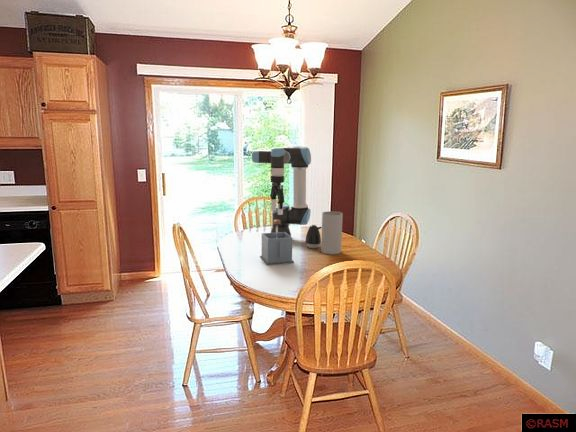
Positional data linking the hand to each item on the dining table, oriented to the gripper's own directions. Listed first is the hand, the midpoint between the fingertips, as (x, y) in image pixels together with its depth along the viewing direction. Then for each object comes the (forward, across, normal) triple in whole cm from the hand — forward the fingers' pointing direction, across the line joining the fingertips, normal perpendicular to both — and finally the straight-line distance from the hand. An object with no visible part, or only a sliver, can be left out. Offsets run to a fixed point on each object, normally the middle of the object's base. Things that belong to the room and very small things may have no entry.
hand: (276, 212), depth 236 cm
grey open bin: (+28, 0, 0) cm, 28 cm away
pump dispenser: (+28, -20, +31) cm, 47 cm away
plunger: (+18, 0, 0) cm, 18 cm away
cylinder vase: (+28, -7, +38) cm, 48 cm away
